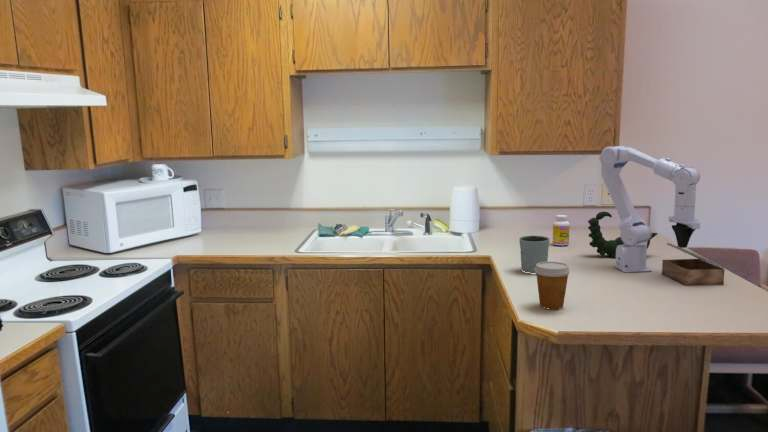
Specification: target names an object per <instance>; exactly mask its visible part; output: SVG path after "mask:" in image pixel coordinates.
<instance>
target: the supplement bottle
mask: <svg viewBox="0 0 768 432" xmlns="http://www.w3.org/2000/svg"><path fill="white" fill-rule="evenodd" d="M570 225H571V224H570V222H569V221H568V215H565V214H557V215H555V221H553V224H552V245H553V244H555V245H568V246H569V245H570V227H571V226H570Z"/></svg>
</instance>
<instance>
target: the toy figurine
mask: <svg viewBox="0 0 768 432" xmlns="http://www.w3.org/2000/svg"><path fill="white" fill-rule="evenodd" d="M605 217H609V218H612V217H613V216H612V214H611V213H610V212H607V211H600V212H598V213H597V214H596V215H595V217H592V218H590V219H588V220H587V223H588V224H589V226H588V227H587V228H588V230H589V231H590V233H589V234H588V237H589V238H591V241H590V242H589V246H590V247H592V248H597V249H596V253H597V254H599V255H600V256H606V255H608V256H610V257H611V258H612V259H616V248H617V246H618V245H623V244H624V242H623V241H622V239H621V236H618V237H616V238H615V239H610V240H606V239H605V237H603V232H602V231H601V225H600V220H602V219H603V218H605ZM657 235H658V233H657V232H652V235H651V238H650V239H649V240H648V241H647V250H648V249H649V247H650V244H651V240H652V239H653V238H655V237H656V236H657Z"/></svg>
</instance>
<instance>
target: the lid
mask: <svg viewBox="0 0 768 432" xmlns="http://www.w3.org/2000/svg"><path fill="white" fill-rule="evenodd" d="M666 245H667V246H670V247H672V248H674V249H677V250H679V251H680V252H683V253H686V254H687V255H689V256H692V257H694V258H695V259H700V260H703V261H705V262H708V263H710V264H713V265H715V266H718V267H720V268H723V269H725V268H726V266H724V265H722V264H720V263H717V262H715V261H713V260H711V259H708V258H706V257H703V256H702V255H699V254H697V253H694V252H693V251H690V250H687V249H686V248H681V247H678V245H674V244H672V243H669V242H667V243H666Z"/></svg>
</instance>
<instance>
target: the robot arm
mask: <svg viewBox="0 0 768 432" xmlns="http://www.w3.org/2000/svg"><path fill="white" fill-rule="evenodd" d="M602 149H603V150H601V154H600V155H599V157H598V158H599V162H600V164H601V168H600V169H601V173H600V174H601V177H602V180H603V182H604V184H605V186H606V189H607V192H608V194H609V195H610V198H611V200H612V202H613V205H614V207H615V210H616V212H617V214H618V217H619V218H620V224H619V226H618V228H619V231H620V237H621V239H622V241H623V242H624V244H623V245H618V246H617V248H616V258H615V264H614V267H615V268H616V269H618V270H620V271H621V272H624V273H634V272H635V273H637V272H639V273H640V272H651V271H652V270H651V269H650V268H649V267H647V253H648V249H647V241H648V240H649V239H650V238H651V235H652V233H653V231H652V230H651V228H650V226H649V225H648V224H646V222H645V220H644V218H642V217H641V216H639V214H637V211H636V209H635V207H634V205H633V203H632V200H631V198H630V196H629V193H628V192H627V189H626V187H625V184H624V182H623V180H622V178H621V175H620V174H621V171H622V170H623V168H624V167H625V166H626V165H627V164H628V163H629V162H633V163H636V164H638V165H641V166H644V167H647V168H649V169H652V171H653V173H654V174H655V175H657V176H659V177H661V178H663V179H666V180H668V181H671V182H672V183H673V184H674V186H675V191H674V192H675V194H674V209H673V215H669V216H668V222H669V223H675V224H673V225H671V229H672V231H673V233H674V235H675V239H676V244H677V246H678V247H681V248H683V249H686V248H688V245H689V242H690V239H691V237H692V235H693V233H694V232H695V231H696V230H700V229H701V223H700V222H699V221H698V218H695V213H696V212H695V211H696V198H697V197H696V196H697V184H698V183H699V181H700V180H701V174H700V172H699V170H698V169H696V168H695V167H693V166H688V167H685V166H686V165H685V164H683V163H680V164H679V163H677V162H675V161H672V158H669V157H666V158H664V157H663V158H660V159H657V158H654V157H653V156H650V155H648V154H647V153H644V152H642V151H639V150H638V149H635V148H634V147H631V146H630V147H629V146H627V145H619V146H618V145H617V146H606V147H604V148H602Z"/></svg>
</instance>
